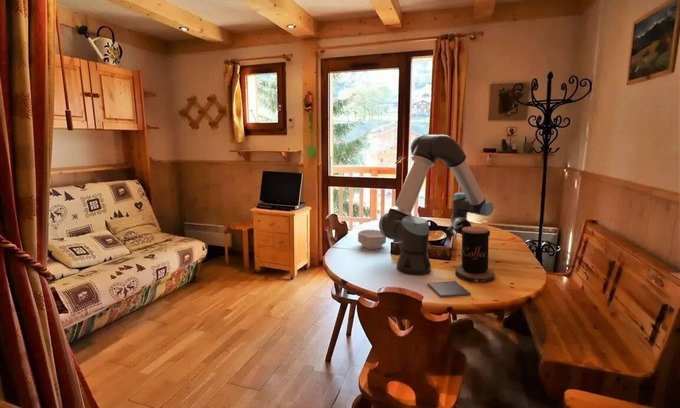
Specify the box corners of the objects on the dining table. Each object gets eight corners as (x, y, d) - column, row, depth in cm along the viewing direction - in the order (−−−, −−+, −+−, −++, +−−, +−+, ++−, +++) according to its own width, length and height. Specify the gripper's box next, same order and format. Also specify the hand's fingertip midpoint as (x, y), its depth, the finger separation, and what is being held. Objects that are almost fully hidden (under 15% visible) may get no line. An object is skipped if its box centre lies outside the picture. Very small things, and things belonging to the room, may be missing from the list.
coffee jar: (459, 271, 153) (459, 230, 150) (464, 265, 162) (464, 225, 160) (486, 275, 147) (486, 232, 145) (490, 267, 156) (490, 227, 154)
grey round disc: (452, 269, 164) (452, 263, 164) (489, 271, 162) (489, 265, 161) (458, 283, 149) (458, 276, 148) (498, 285, 146) (499, 278, 146)
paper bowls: (391, 249, 192) (391, 235, 190) (365, 252, 186) (365, 237, 185) (377, 241, 206) (378, 228, 204) (353, 244, 200) (353, 230, 199)
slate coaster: (440, 297, 134) (440, 295, 133) (427, 285, 145) (427, 282, 145) (470, 295, 136) (470, 293, 135) (455, 283, 147) (455, 280, 147)
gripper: (487, 234, 183) (499, 246, 163) (437, 231, 187) (442, 243, 166) (488, 219, 182) (500, 230, 161) (437, 217, 186) (443, 227, 165)
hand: (471, 236), depth 164 cm, fingers open, 13 cm apart
